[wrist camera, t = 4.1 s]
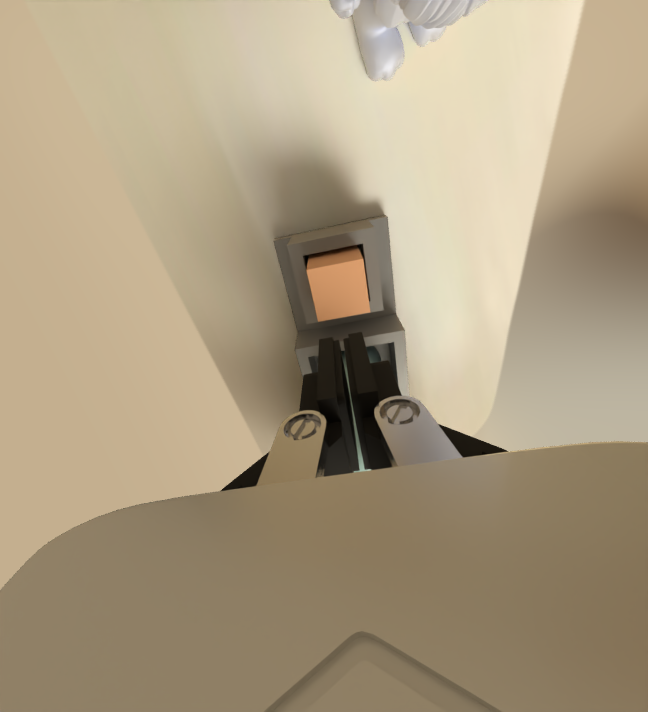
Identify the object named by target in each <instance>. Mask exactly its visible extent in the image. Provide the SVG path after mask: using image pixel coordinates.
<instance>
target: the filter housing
mask: <svg viewBox="0 0 648 712" xmlns="http://www.w3.org/2000/svg"><path fill="white" fill-rule="evenodd" d="M274 244H275V248H276V252H277V256H278V259H279V263H280V267H281V271H282V274H283V278H284V282H285V286H286V289H287V293H288V297H289V301H290V304H291V308H292V312H293V315H294V319H295V323H296V327H297V330H298V334H297V340H296V346H295V352H296V355H297V359H298V363H299V366H300V370H301V373H302V377H303V376H304V374H310V373H316V372H318V353H319V339H324V338H329V337H333V339H334V340H339V342H340V347H341V351H345V349H344V341H343V339H345V338H349V337H348V334H352V333H357V332H362V334H363V338H364V341H365V345H366V347H368V346H374V347H375V348H376V349H377V351H378V352H379V354H380V357H381V360H382V361H386V360H388V361H389V363H390V365H391V368H392V371H393V373H394V376H395V379H396V381H397V384H398V387H399V389H400V392H401V395H402V396H408V397H410V395H409V382H408V369H407V356H406V343H405V330H404V328H403V326H402V324H401V322H400V320H399V319H398V317H397V315H396V308H395V296H394V285H393V274H392V262H391V251H390V240H389V228H388V217H387V216H386V215H383V216H378V217H373V218H369V219H364V220H359V221H355V222H350V223H345V224H341V225H336V226H331V227H327V228H322V229H317V230H313V231H308V232H303V233H299V234H294V235H289V236H285V237H280V238H275V240H274ZM353 245H357V246H358V249H359V251H360V253H361V255H362V257H363V260H364V268H365V275H366V283H367V291H368V298H369V306H370V312H369V313H364V314H358V315H353V316H347V317H342V318H336V319H331V320H326V321H320V322H318V319H317V315H316V310H315V306H314V301H313V297H312V293H311V288H310V284H309V279H308V275H307V271H306V270H307V264H308V259H309V254H314V253H319V252H324V251H329V250H333V249H338V248H343V247H348V246H353Z"/></svg>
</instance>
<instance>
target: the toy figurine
mask: <svg viewBox="0 0 648 712" xmlns="http://www.w3.org/2000/svg"><path fill="white" fill-rule="evenodd" d="M329 1H330V4H331V7H332V9H333V10H334V11H335V12H336V14H337V15H338V16H339V17H340V18H342V19H344V18H348V17H350V16H351V15H352V16H353V21H354V25H355V29H356V34H357V38H358V43H359V47H360V52H361V55H362V58H363V61H364V64H365V67H366V71H367V74H368V76H369V78H370V79H371V80H373V81H380V80H382V79H383V80H385V81H389V80H391V79H392V78H393V76H394V74H395V72H396V70H397V69H398V68H400V67H401V65H402V64H403V61H404V47H403V43H402V40H401V37H400V34H399V32H398V30H397V28H396V26H398V25H400V24H402V23H407V22H409V26H410V29H411V32H412V35H413V38H414V40H415V42H416V44H417V45H418V46H420V47H424V46H426V45H427V44H428V43H429V42H430V41H431V42H434V41H437V40H438V39H439V38H440V37H441V36H442V35H443V33H444V32H445V30H446V26H449V25H452V24H454V23H455V22H456V21H458V20H459V19H460V17H461V16H464V17H466V16H468V15H469V14H470V13H471V12H472V11H473V10H474V9H476V8H478V7H480V6H481V5H483V4H484V3H486V2H487V1H488V0H329Z"/></svg>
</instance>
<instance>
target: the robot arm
mask: <svg viewBox="0 0 648 712" xmlns="http://www.w3.org/2000/svg"><path fill="white" fill-rule="evenodd" d="M348 337H349V338H345V339H343V341H344V349H345V357H346V365H347V373H348V381H349V388H350V393H349V388H348V383H347V378H346V373H345V368H344V363H343V357H342V352H341V347H340V342H339V340H334V339H333V337H329V338H324V339H319V353H318V372H316V373H310V374H304V376H303V385H302V394H301V402H300V411H299V412H297V413H294V414H292V415H291V416H289V417H287V418H286V419H285V420H284V421H283V422H282V424H281V425H280V427H279V429H278V432H277V434H276V437H275V440H274V442H273V445H272V447H271V450H270V452H268V453H267V454H266V455H265V456H263V457H262V458H261V459H260V460H258V461H257V462H256V463H255V464H253V465H252V466H251V467H249V468H248V469H247V470H246V471H244V472H243V473H242V474H241V475H239V476H238V477H237V478H236V479H234V480H233V481H232V482H231V483H229V484H228V485H227V486H226V487H224V488H223V489H222V490H221V491H220V492H212V493H205V494H198V495H191V496H184V497H178V498H172V499H167V500H162V501H155V502H150V503H144V504H139V505H135V506H131V507H128V508H123V509H120V510H116V511H113V512H111V513H108V514H105V515H102V516H99V517H96V518H94V519H92V520H89V521H87V522H85V523H83V524H81V525H79V526H76V527H74V528H72V529H71V530H69V531H67V532H65V533H63V534H61V535H60V536H58V537H56V538H55V539H53V540H52V541H50V542H48V543H47V544H46V545H44V546H43V547H42V548H41V549H39V550H38V551H37V552H36V553H35V554H34V555H33V556H32V557H31V558H30V559H29V560H28V561H27V562H26V563H25V564H24V565H23V566H22V567H21V568H20V569H19V570H18V571H17V573H15V574H14V576H13V577H12V578H11V579H10V580H9V581H8V582H7V583H6V584H5V585H4V587H3V588H2V589H1V590H0V712H648V442H623V441H614V442H589V443H580V444H571V445H560V446H550V447H541V448H533V449H525V450H518V451H510V452H508V451H506V450H504V449H502V448H499V447H497V446H494V445H491V444H489V443H486V442H484V441H481V440H478V439H476V438H473V437H471V436H468V435H465V434H463V433H460V432H458V431H455V430H452V429H450V428H447V427H445V426H442V425H439V424H437V422H436V421H435V420H434V418H433V417H432V415H431V414H430V413H429V411H428V410H427V409H426V407H425V406H424V405H423V404H422V403H421V402H420V401H419V400H417V399H415V398H412V397H408V396H402V395H401V392H400V389H399V387H398V384H397V381H396V379H395V376H394V373H393V371H392V368H391V365H390V363H389V361H388V360H386V361H380V362H374V363H370V360H369V356H368V353H367V349H366V345H365V341H364V338H363V334H362V332H357V333H352V334H348ZM350 395H351V399H350ZM351 401H352V405H351ZM352 407H353V412H354V417H355V422H356V427H357V432H358V438H359V443H360V448H361V453H362V458H363V463H364V468H365V470H368V469H371V470H370V471H362V472H355V473H354V471H360V469H359V461H358V453H357V445H356V437H355V429H354V421H353V413H352Z"/></svg>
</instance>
